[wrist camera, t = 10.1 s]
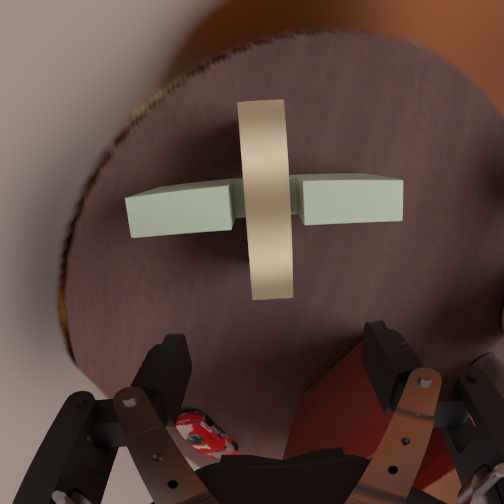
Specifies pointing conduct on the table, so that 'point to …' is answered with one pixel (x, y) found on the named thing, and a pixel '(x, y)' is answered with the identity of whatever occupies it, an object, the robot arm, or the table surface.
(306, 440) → the plant pot
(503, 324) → the canister
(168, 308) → the table surface
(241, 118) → the slotted plate
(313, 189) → the notched board
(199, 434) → the race car
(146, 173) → the table surface
